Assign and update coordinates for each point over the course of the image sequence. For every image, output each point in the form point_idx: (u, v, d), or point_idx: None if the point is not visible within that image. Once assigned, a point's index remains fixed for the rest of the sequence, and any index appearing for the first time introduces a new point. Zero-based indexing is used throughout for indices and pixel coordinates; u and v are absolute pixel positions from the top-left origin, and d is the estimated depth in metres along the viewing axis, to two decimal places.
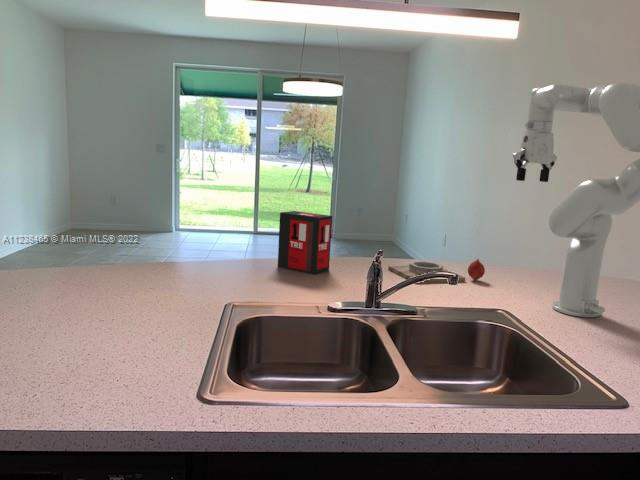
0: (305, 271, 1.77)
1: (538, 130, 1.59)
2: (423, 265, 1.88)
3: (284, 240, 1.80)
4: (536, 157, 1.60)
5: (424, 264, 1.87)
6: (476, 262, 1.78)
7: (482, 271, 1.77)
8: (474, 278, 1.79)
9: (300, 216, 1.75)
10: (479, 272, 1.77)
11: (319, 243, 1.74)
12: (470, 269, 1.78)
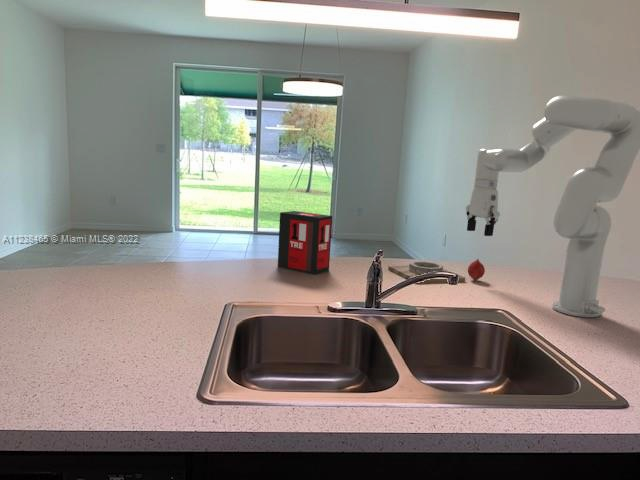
0: (305, 271, 1.77)
1: (496, 188, 1.73)
2: (423, 265, 1.88)
3: (284, 240, 1.80)
4: None
5: (424, 264, 1.87)
6: (476, 262, 1.78)
7: (482, 271, 1.77)
8: (474, 278, 1.79)
9: (300, 216, 1.75)
10: (479, 272, 1.77)
11: (319, 243, 1.74)
12: (470, 269, 1.78)
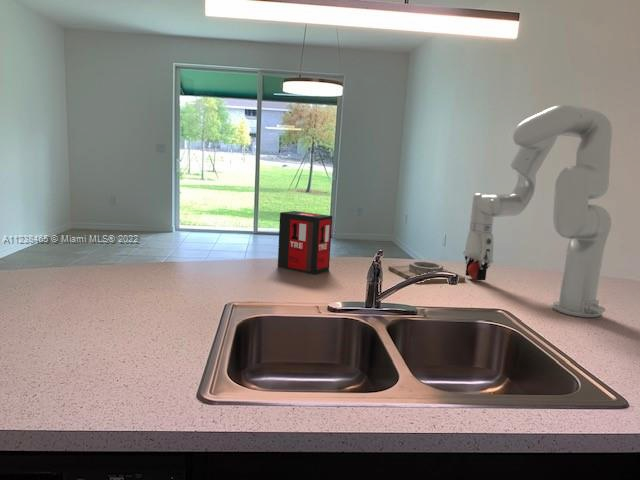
0: (305, 271, 1.77)
1: (491, 232, 1.76)
2: (423, 265, 1.88)
3: (284, 240, 1.80)
4: None
5: (424, 264, 1.87)
6: (476, 262, 1.78)
7: None
8: (474, 278, 1.79)
9: (300, 216, 1.75)
10: None
11: (319, 243, 1.74)
12: (470, 269, 1.78)
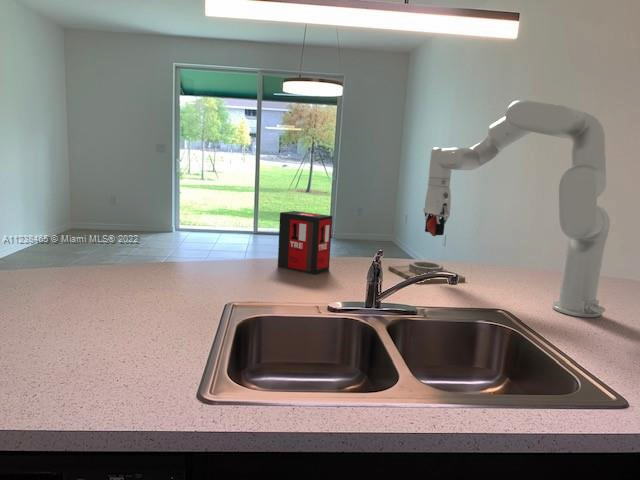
0: (305, 271, 1.77)
1: (449, 187, 1.76)
2: (423, 265, 1.88)
3: (284, 240, 1.80)
4: None
5: (424, 264, 1.87)
6: (434, 217, 1.79)
7: None
8: (432, 233, 1.79)
9: (300, 216, 1.75)
10: None
11: (319, 243, 1.74)
12: (428, 224, 1.79)
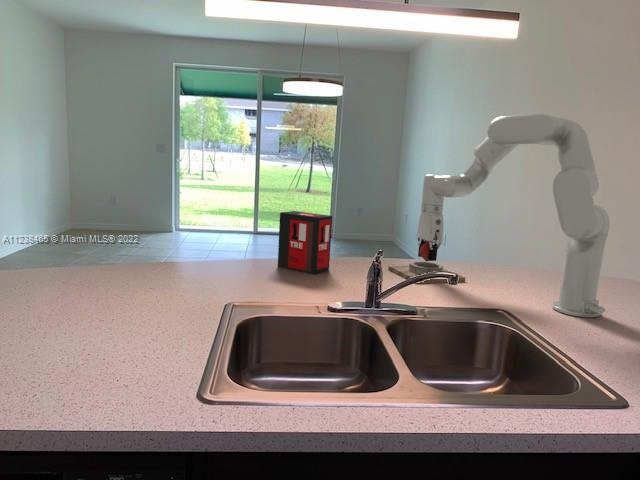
0: (305, 271, 1.77)
1: None
2: (423, 265, 1.88)
3: (284, 240, 1.80)
4: None
5: (424, 264, 1.87)
6: (427, 243, 1.80)
7: None
8: (425, 259, 1.81)
9: (300, 216, 1.75)
10: None
11: (319, 243, 1.74)
12: (421, 250, 1.80)
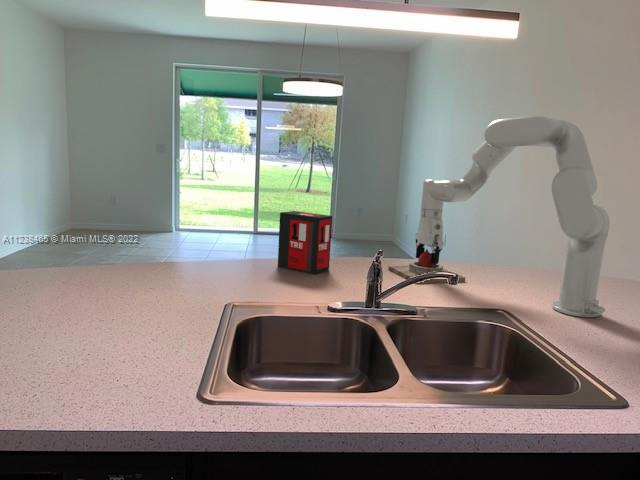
0: (305, 271, 1.77)
1: (441, 218, 1.78)
2: None
3: (284, 240, 1.80)
4: None
5: None
6: (425, 252, 1.82)
7: None
8: None
9: (300, 216, 1.75)
10: (429, 262, 1.80)
11: (319, 243, 1.74)
12: (420, 259, 1.82)
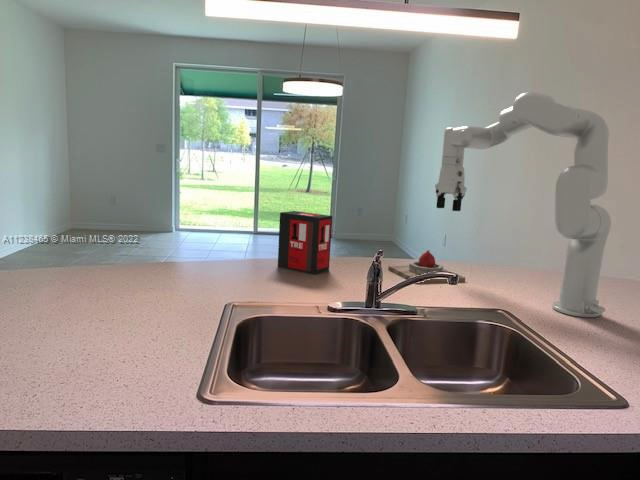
0: (305, 271, 1.77)
1: (462, 165, 1.81)
2: None
3: (284, 240, 1.80)
4: None
5: None
6: (426, 253, 1.81)
7: (432, 262, 1.80)
8: None
9: (300, 216, 1.75)
10: (429, 263, 1.80)
11: (319, 243, 1.74)
12: (420, 260, 1.81)
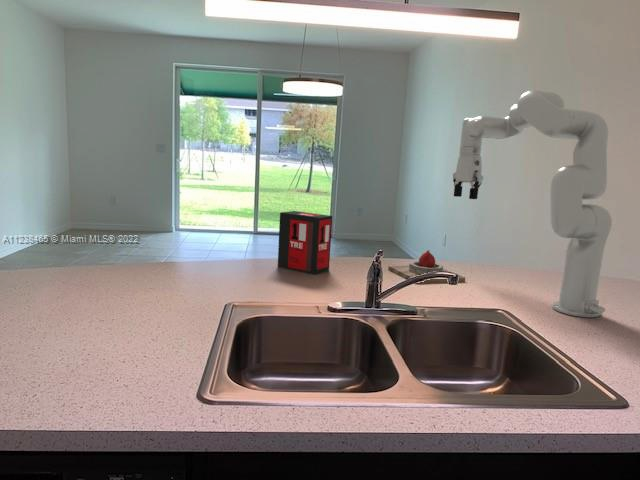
0: (305, 271, 1.77)
1: None
2: None
3: (284, 240, 1.80)
4: None
5: None
6: (426, 253, 1.81)
7: (432, 262, 1.80)
8: None
9: (300, 216, 1.75)
10: (429, 263, 1.80)
11: (319, 243, 1.74)
12: (420, 260, 1.81)
